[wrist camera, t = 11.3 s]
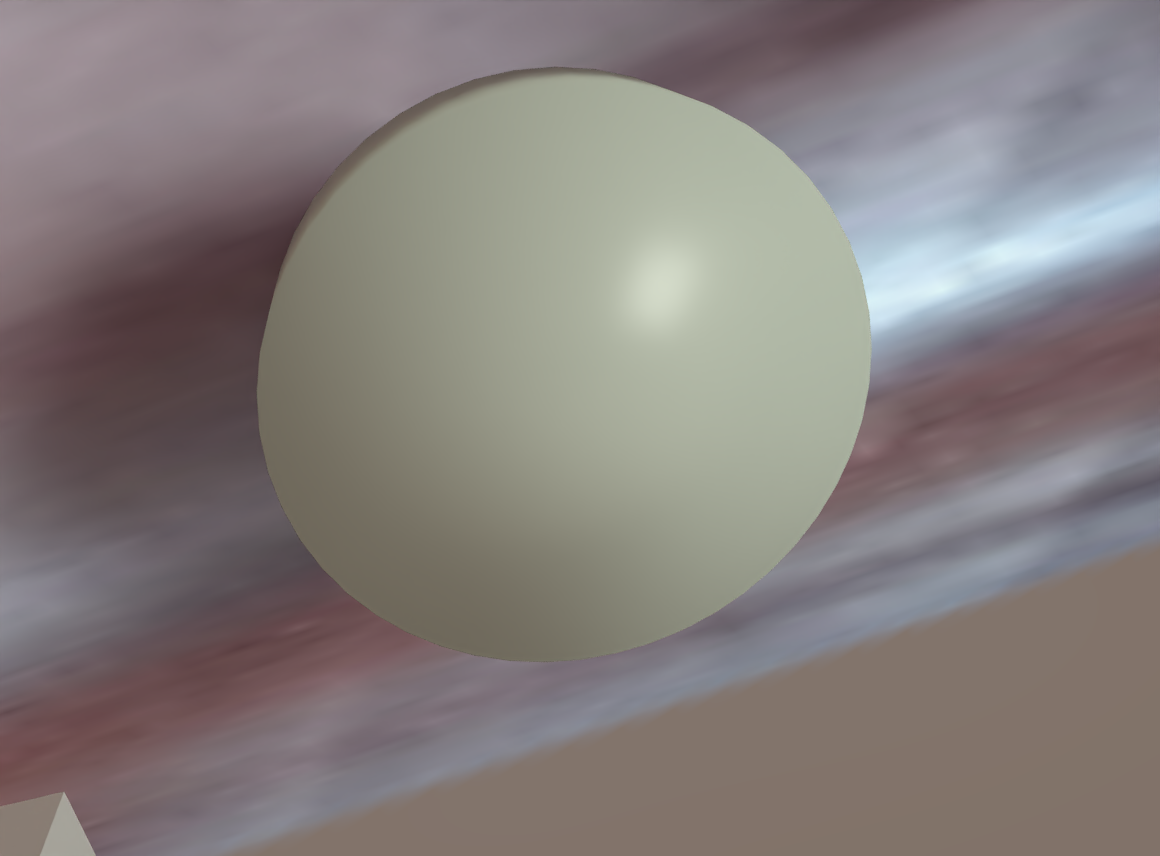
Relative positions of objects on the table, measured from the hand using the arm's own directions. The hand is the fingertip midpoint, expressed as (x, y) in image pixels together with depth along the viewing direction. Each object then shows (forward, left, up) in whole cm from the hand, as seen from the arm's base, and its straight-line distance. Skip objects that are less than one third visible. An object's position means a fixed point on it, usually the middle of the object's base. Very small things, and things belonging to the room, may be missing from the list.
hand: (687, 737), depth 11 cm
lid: (0, -1, -10) cm, 10 cm away
